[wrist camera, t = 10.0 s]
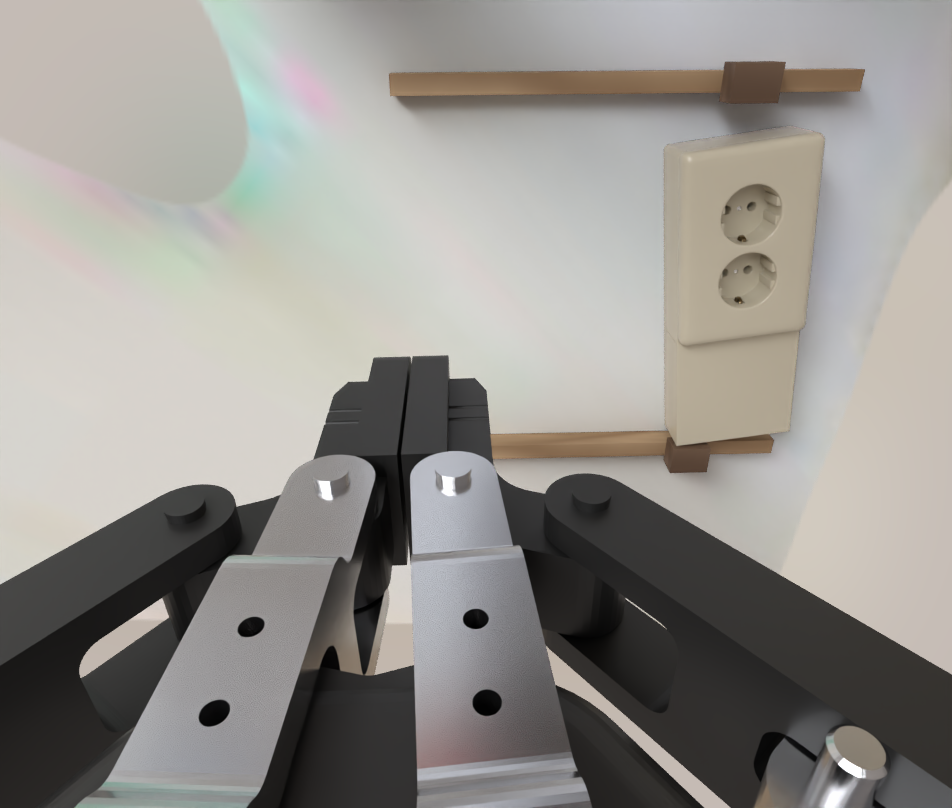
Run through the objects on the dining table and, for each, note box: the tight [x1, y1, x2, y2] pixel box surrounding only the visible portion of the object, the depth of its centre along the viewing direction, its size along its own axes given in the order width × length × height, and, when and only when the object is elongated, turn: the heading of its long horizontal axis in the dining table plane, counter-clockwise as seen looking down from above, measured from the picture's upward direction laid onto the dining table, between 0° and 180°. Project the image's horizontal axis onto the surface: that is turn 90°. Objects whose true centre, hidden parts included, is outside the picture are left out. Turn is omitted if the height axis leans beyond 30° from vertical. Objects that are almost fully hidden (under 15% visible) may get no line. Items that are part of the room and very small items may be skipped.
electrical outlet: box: [664, 126, 825, 446], centre depth 39 cm, size 7×4×18 cm
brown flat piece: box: [389, 61, 865, 473], centre depth 39 cm, size 24×24×3 cm
